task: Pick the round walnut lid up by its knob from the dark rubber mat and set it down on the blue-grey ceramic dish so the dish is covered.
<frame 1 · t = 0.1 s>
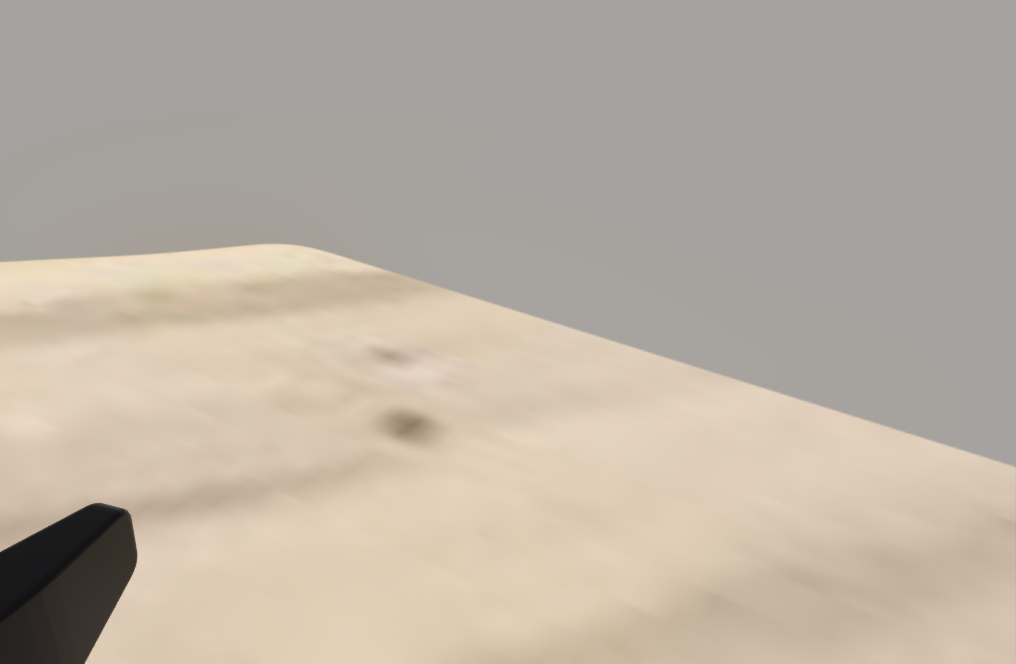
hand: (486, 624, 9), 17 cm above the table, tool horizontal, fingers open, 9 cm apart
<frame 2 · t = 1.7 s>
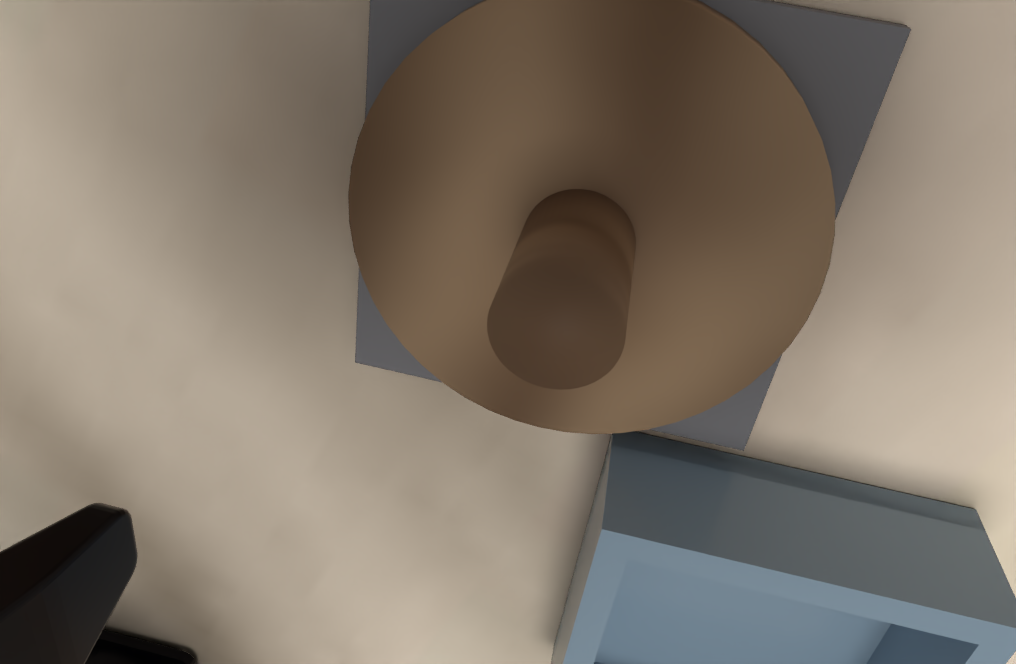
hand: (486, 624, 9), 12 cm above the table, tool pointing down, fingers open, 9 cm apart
mat: (584, 219, 19), on the table
dish: (738, 586, 25), on the table
lid: (582, 225, 19), resting on mat
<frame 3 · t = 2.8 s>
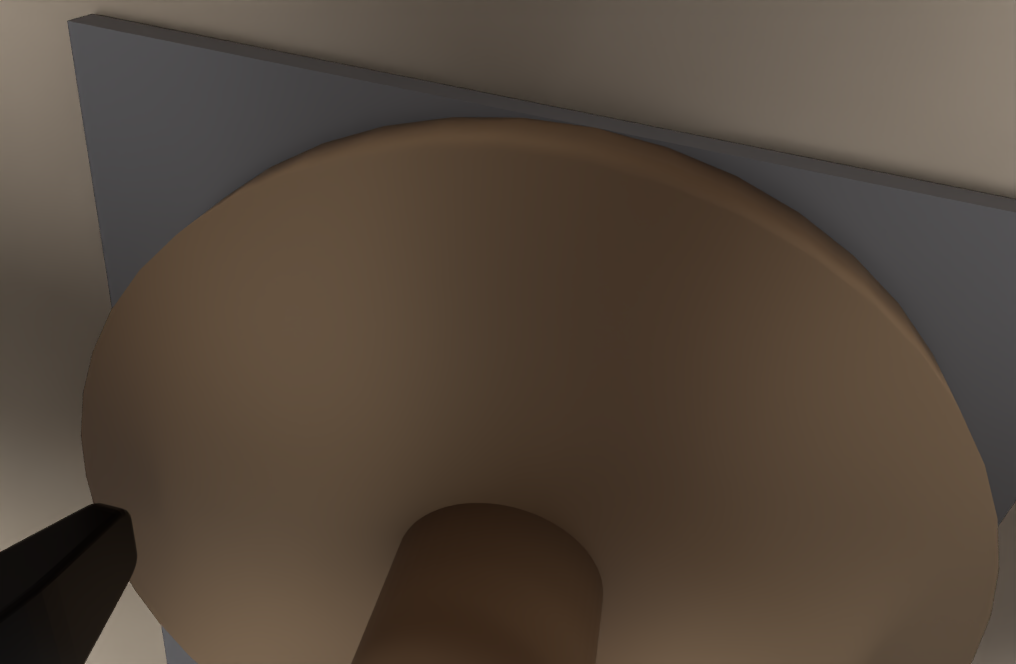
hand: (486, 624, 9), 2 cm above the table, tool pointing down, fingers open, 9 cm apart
mat: (517, 503, 11), on the table
lid: (512, 523, 11), resting on mat
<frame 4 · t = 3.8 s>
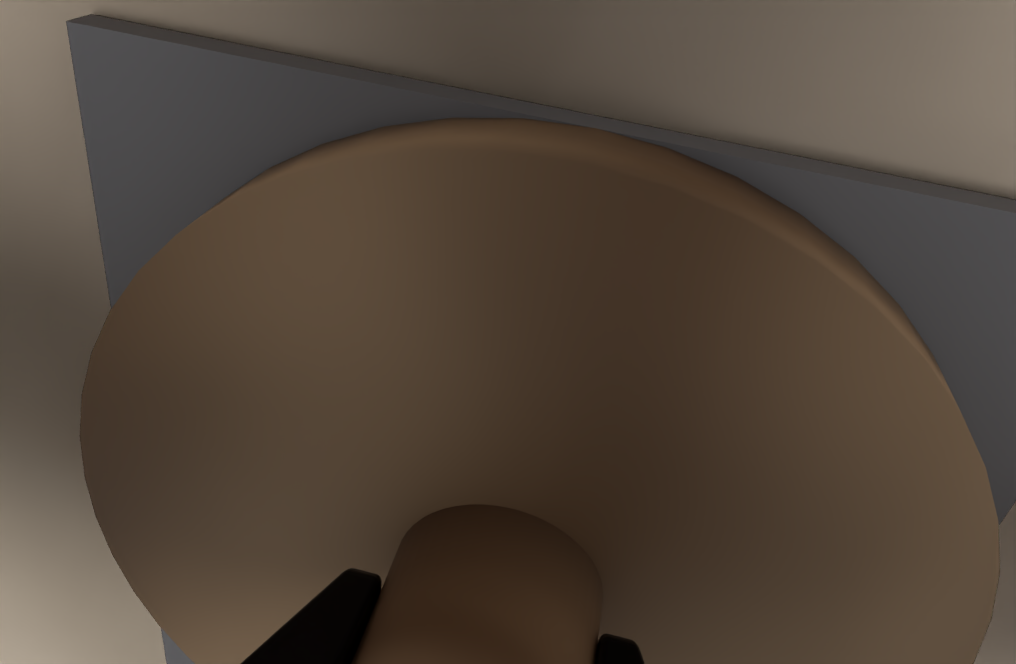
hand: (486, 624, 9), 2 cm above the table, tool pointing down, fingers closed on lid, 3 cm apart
mat: (517, 504, 11), on the table
lid: (512, 524, 11), resting on mat, touching gripper
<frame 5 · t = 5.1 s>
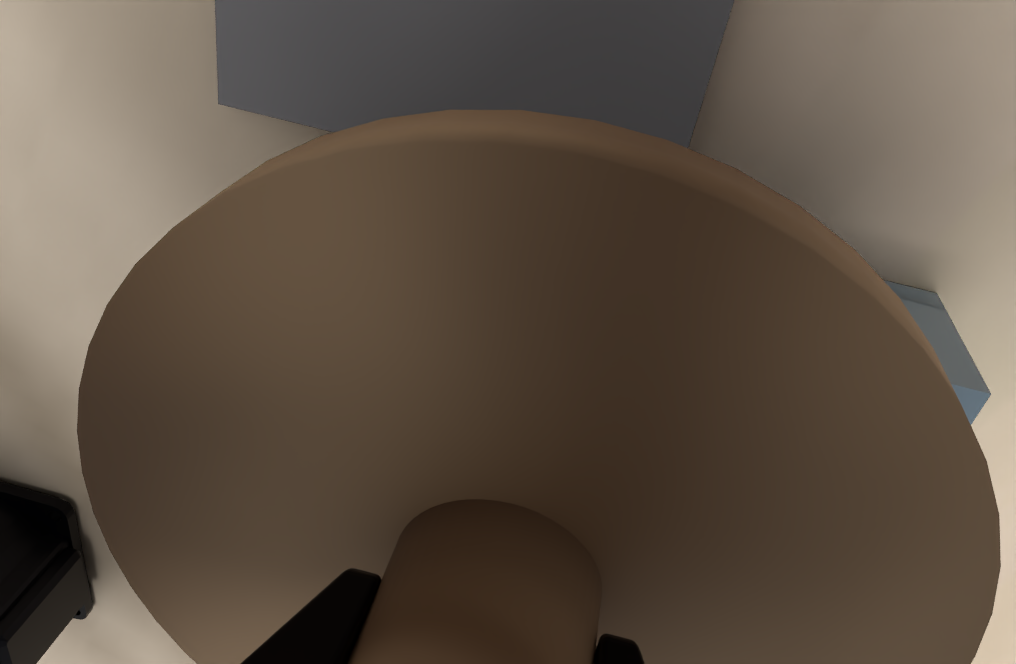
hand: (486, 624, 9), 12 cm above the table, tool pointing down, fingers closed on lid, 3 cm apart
dish: (665, 403, 21), on the table
lid: (511, 520, 11), point 10 cm above the table, touching gripper
when the fingers open (7 cm above the table, at t = 6.8 s): lid drops 2 cm, resting on dish.
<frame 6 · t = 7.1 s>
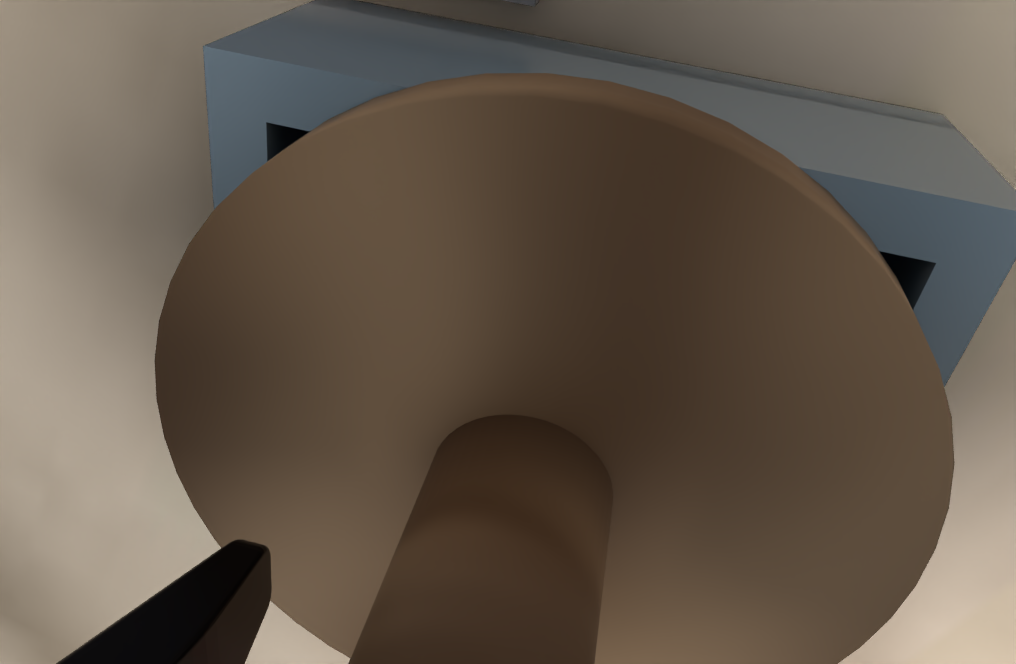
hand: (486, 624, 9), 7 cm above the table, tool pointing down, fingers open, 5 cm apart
dish: (567, 315, 15), on the table
lid: (532, 443, 12), point 4 cm above the table, touching dish
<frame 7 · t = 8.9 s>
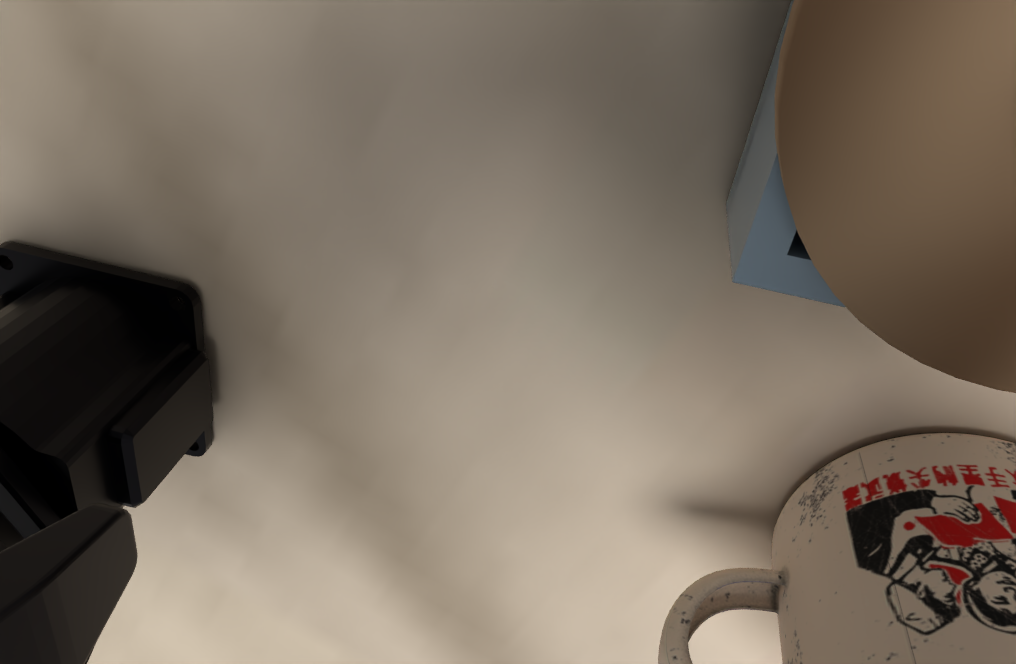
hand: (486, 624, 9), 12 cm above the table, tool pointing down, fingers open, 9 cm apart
teacup with lid: (872, 530, 23), on the table
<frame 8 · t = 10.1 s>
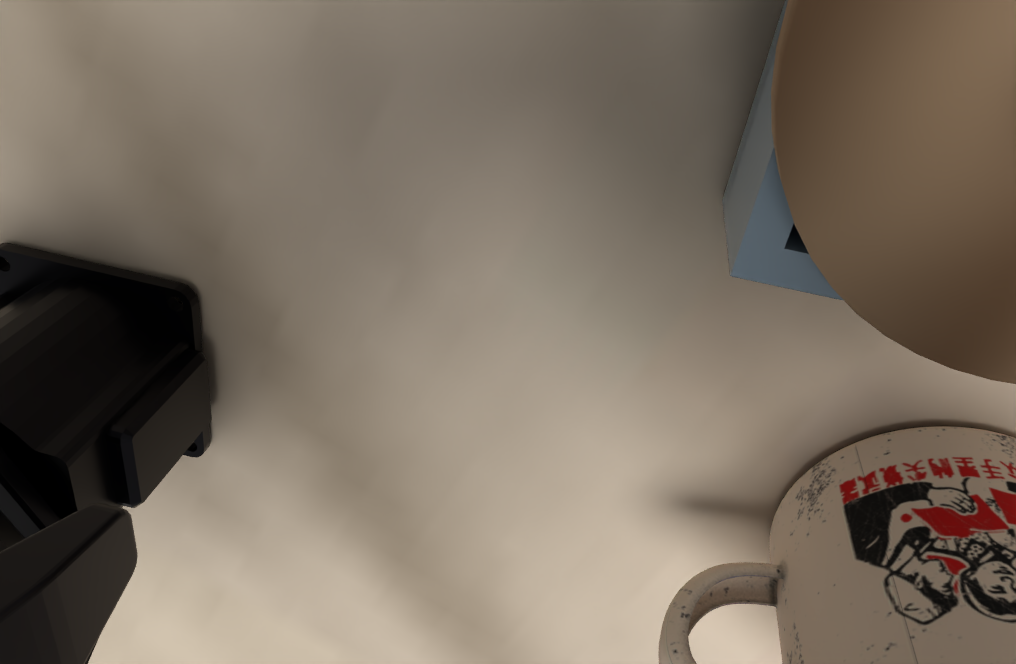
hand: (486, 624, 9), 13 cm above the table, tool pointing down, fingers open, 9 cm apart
teacup with lid: (868, 524, 23), on the table
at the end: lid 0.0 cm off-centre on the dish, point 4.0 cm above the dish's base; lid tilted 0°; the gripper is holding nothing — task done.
